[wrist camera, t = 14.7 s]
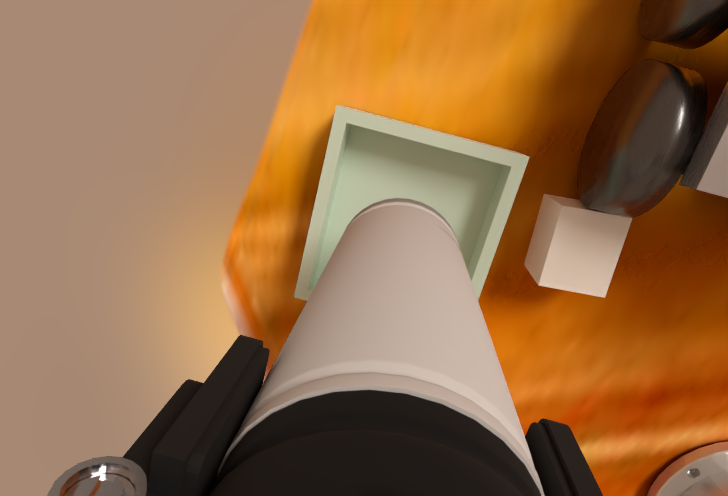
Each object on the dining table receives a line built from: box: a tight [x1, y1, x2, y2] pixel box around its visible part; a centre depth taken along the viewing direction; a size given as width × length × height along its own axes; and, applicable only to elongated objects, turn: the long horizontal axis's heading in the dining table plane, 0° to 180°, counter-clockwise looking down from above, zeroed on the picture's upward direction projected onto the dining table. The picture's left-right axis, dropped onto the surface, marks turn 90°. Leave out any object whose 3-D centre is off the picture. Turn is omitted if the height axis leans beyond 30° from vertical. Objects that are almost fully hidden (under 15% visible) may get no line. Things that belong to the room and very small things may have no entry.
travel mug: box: [208, 198, 545, 496], centre depth 15 cm, size 6×7×20 cm
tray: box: [294, 106, 530, 301], centre depth 30 cm, size 13×12×3 cm
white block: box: [524, 194, 633, 298], centre depth 29 cm, size 5×4×4 cm
